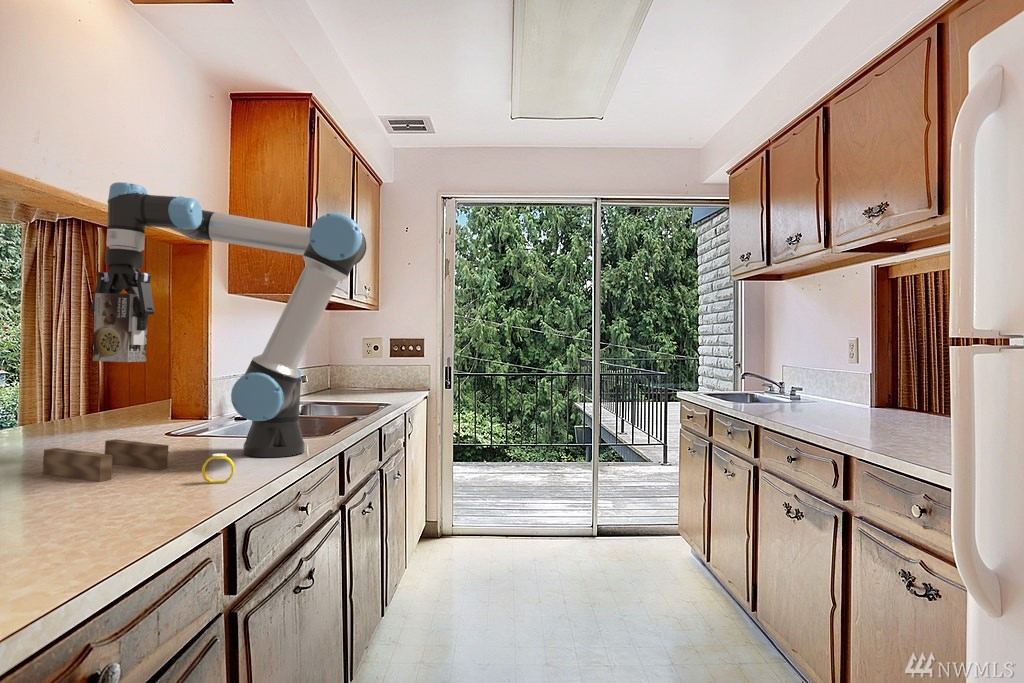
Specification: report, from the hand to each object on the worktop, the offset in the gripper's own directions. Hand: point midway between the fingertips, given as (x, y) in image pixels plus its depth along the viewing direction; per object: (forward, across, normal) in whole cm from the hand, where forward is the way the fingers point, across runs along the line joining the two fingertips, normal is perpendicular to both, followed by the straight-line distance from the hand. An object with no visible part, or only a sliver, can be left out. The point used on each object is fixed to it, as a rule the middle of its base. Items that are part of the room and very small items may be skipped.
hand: (120, 343), depth 138 cm
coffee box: (+4, 0, 0) cm, 4 cm away
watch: (+28, +36, -6) cm, 46 cm away
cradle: (+28, +8, -8) cm, 30 cm away
